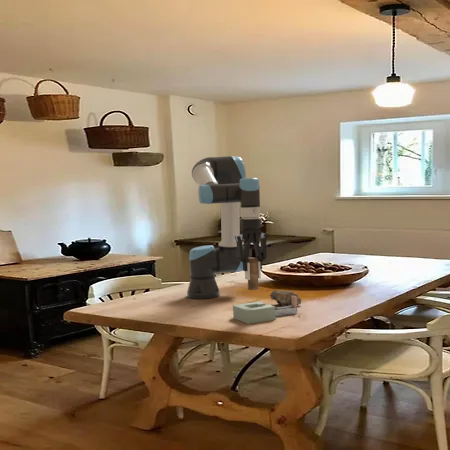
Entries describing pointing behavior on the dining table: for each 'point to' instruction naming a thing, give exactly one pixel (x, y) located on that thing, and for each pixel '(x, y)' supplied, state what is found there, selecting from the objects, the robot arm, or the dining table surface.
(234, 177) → the robot arm
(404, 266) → the dining table surface
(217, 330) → the dining table surface
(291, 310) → the block
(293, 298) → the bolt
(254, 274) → the peg
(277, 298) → the rock
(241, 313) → the block
